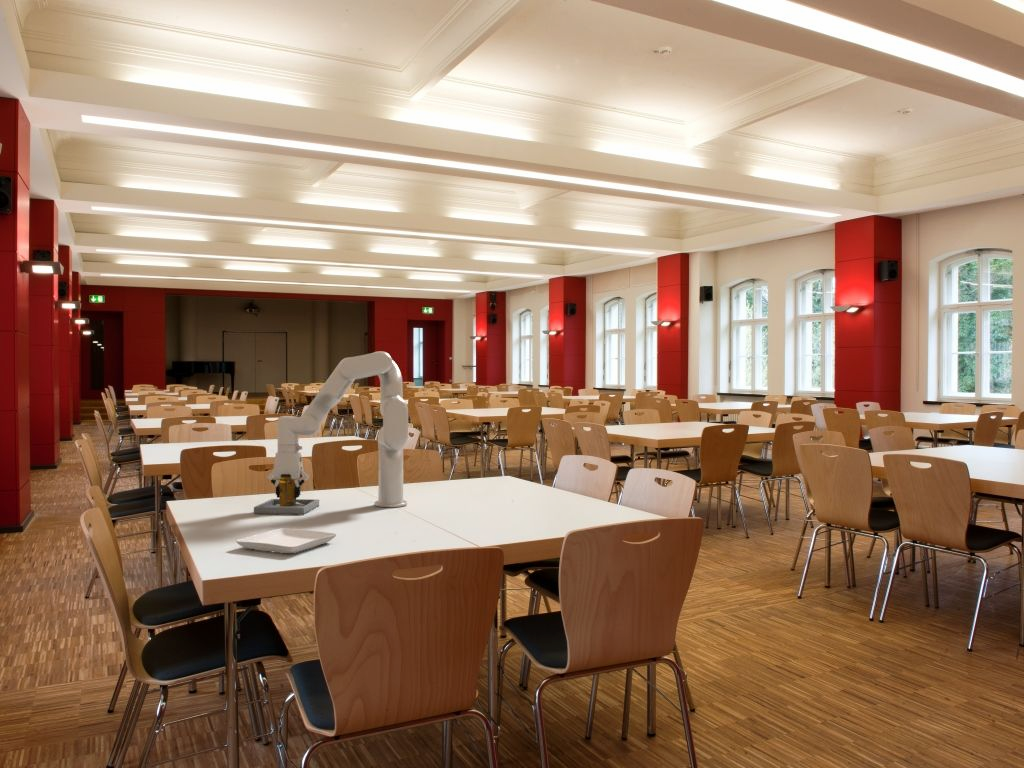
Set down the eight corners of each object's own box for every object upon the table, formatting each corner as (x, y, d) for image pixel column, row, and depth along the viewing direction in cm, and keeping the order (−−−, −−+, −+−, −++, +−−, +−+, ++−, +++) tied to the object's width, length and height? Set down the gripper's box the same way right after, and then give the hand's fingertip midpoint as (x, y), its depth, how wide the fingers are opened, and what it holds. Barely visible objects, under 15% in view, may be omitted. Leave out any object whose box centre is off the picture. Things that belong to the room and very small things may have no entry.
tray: (272, 505, 296) (272, 498, 296) (319, 506, 296) (319, 499, 296) (253, 514, 278) (253, 507, 278) (303, 514, 277) (303, 508, 277)
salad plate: (281, 537, 242) (281, 526, 242) (338, 543, 234) (338, 532, 234) (233, 551, 222) (233, 539, 222) (293, 559, 214) (293, 546, 214)
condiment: (275, 505, 287) (275, 473, 287) (297, 502, 292) (297, 471, 292) (282, 508, 281) (282, 475, 281) (304, 505, 287) (304, 473, 286)
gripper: (313, 448, 290) (314, 495, 290) (268, 447, 291) (269, 495, 291) (307, 450, 282) (307, 499, 283) (261, 449, 283) (261, 498, 283)
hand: (288, 496), depth 287 cm, fingers open, 6 cm apart
